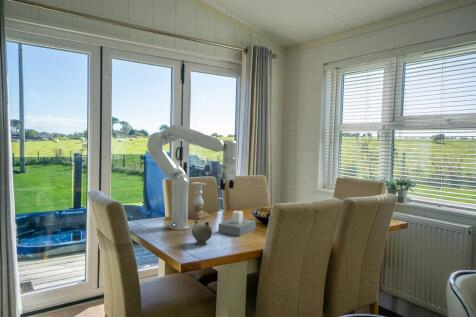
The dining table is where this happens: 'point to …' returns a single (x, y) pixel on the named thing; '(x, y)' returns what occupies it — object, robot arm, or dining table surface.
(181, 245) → the dining table surface
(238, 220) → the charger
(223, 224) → the grey flat block
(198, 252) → the dining table surface
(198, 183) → the candle holder
